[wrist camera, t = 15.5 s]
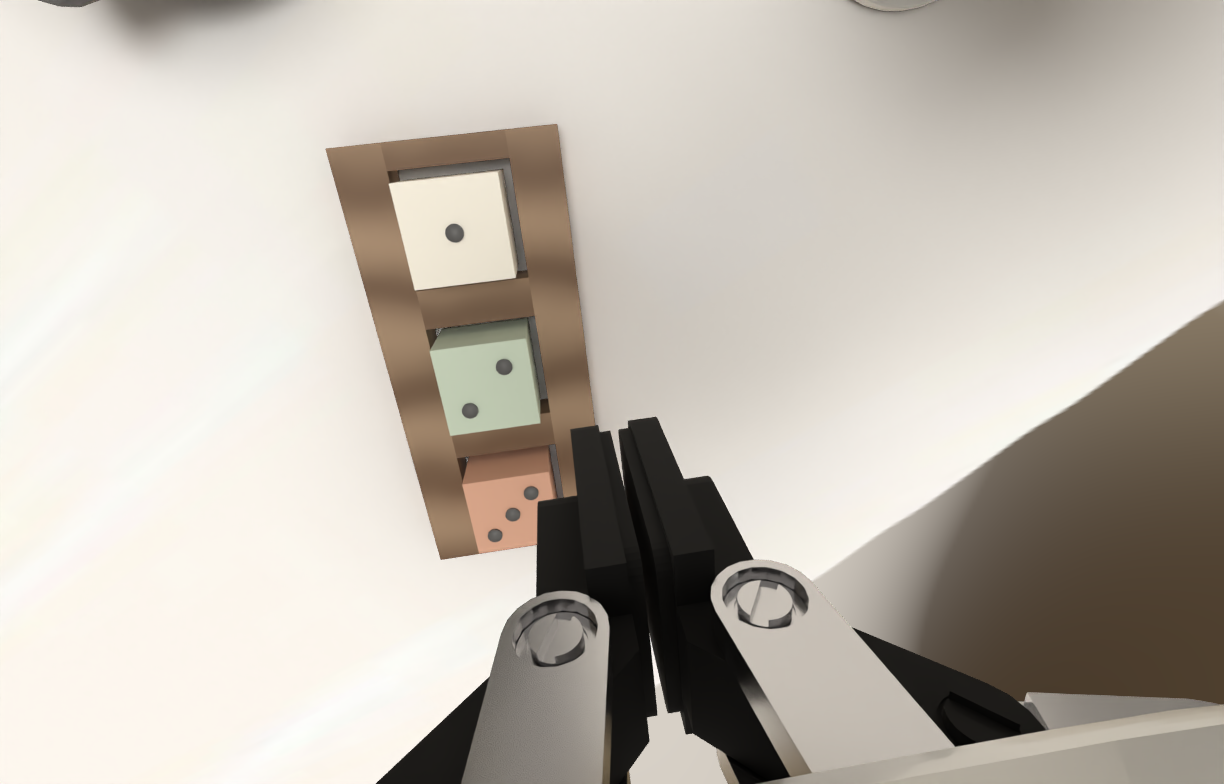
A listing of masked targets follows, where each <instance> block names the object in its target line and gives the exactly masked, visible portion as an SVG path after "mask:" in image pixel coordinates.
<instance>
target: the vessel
mask: <svg viewBox="0 0 1224 784" xmlns="http://www.w3.org/2000/svg"><path fill="white" fill-rule="evenodd" d="M39 1H42V2H46V3H50V4H53V5H57V6H63V7H82V6H85V5H88V4H91V3H93V2H96V1H99V0H39Z"/></svg>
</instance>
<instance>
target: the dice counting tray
mask: <svg viewBox="0 0 1224 784" xmlns="http://www.w3.org/2000/svg"><path fill="white" fill-rule="evenodd" d="M326 152H327V156H328V160H329V163H330V167H331V170H332V174H333V177H334V181H335V185H336V188H337V192H338V195H339V199H340V202H341V206H342V209H343V213H344V217H345V220H346V224H347V227H348V231H349V234H350V238H351V242H352V245H353V249H354V252H355V256H356V259H357V263H358V267H359V270H360V274H361V277H362V281H363V284H364V288H365V291H366V295H367V299H368V302H369V306H370V309H371V313H372V316H373V320H374V324H375V327H376V331H377V334H378V338H379V341H380V345H381V349H382V352H383V356H384V359H385V363H386V366H387V370H388V374H389V377H390V381H391V384H392V388H393V391H394V395H395V398H396V402H397V406H398V409H399V413H400V416H401V420H402V423H403V427H404V431H405V434H406V438H407V441H408V445H409V448H410V452H411V456H412V459H413V463H414V466H415V470H416V473H417V477H418V480H419V484H420V488H421V491H422V495H423V498H424V502H425V505H426V509H427V513H428V516H429V520H430V523H431V527H432V530H433V534H434V538H435V541H436V545H437V548H438V552H439V555H440V559H441V560H443V559H449V558H455V557H462V556H468V555H475V554H479V551H478V547H477V543H476V539H475V535H474V531H473V527H472V523H471V518H470V514H469V510H468V506H467V502H466V498H465V494H464V490H463V486H462V483H463V479H464V475H465V471H466V467H467V463H466V459H465V457H468V456H475V455H482V454H489V453H496V452H503V451H510V450H517V449H524V448H530V447H537V446H544V445H551V444H555V445H556V452H557V458H558V464H559V470H560V476H561V483H562V489H563V495H564V497H570V496H577V491H576V481H575V471H574V462H573V452H572V442H571V433H570V429H574V428H581V427H588V426H595V420H594V412H593V404H592V396H591V388H590V380H589V372H588V364H587V356H586V348H585V341H584V333H583V325H582V317H581V309H580V301H579V293H578V285H577V277H576V269H575V261H574V253H573V245H572V237H571V230H570V222H569V214H568V206H567V198H566V190H565V182H564V174H563V166H562V158H561V150H560V142H559V134H558V126H557V124H552V125H542V126H533V127H524V128H514V129H505V130H496V131H486V132H477V133H467V134H458V135H449V136H439V137H430V138H421V139H411V140H402V141H392V142H383V143H374V144H364V145H355V146H346V147H336V148H327V149H326ZM504 158H509V159H510V165H511V171H512V178H513V184H514V190H515V196H516V202H517V209H518V215H519V221H520V227H521V234H522V240H523V246H524V252H525V258H526V265H527V270H525V271H517V274H516V278H512V279H504V280H496V281H488V282H480V283H471V284H463V285H455V286H447V287H439V288H431V289H423V290H415V289H414V285H413V281H412V277H411V273H410V269H409V265H408V261H407V256H406V252H405V248H404V244H403V240H402V236H401V232H400V228H399V224H398V220H397V216H396V211H395V207H394V203H393V199H392V195H391V191H390V187H389V184H390V183H394V182H399V181H400V180H399V176H398V171H397V170H404V169H413V168H422V167H431V166H440V165H449V164H458V163H467V162H477V161H486V160H495V159H504ZM530 316H535V321H536V327H537V333H538V339H539V346H540V352H541V358H542V364H543V371H544V377H545V383H546V389H547V395H548V399H541V400H540V423H538V424H531V425H524V426H517V427H510V428H503V429H496V430H489V431H482V432H475V433H468V434H461V435H454V436H450V433H449V429H448V424H447V420H446V416H445V412H444V408H443V404H442V400H441V396H440V392H439V388H438V384H437V379H436V375H435V371H434V367H433V363H432V359H431V355H430V349H431V348H432V346H433V344H434V342H435V341H436V339H437V336H436V332H435V329H436V328H444V327H452V326H460V325H467V324H475V323H483V322H491V321H499V320H506V319H514V318H522V317H530ZM531 546H533V545H531ZM525 547H526V546H525ZM518 548H520V547H518ZM512 549H513V548H512ZM506 550H507V549H506ZM499 551H501V550H499ZM493 552H494V551H493ZM486 553H488V552H486ZM480 554H481V553H480Z"/></svg>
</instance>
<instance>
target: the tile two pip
mask: <svg viewBox="0 0 1224 784" xmlns="http://www.w3.org/2000/svg"><path fill="white" fill-rule="evenodd" d="M430 355H431V359H432V363H433V367H434V371H435V375H436V379H437V384H438V388H439V392H440V396H441V400H442V404H443V408H444V412H445V416H446V420H447V424H448V429H449V433H450V436H454V435H461V434H468V433H475V432H482V431H489V430H496V429H503V428H510V427H517V426H524V425H531V424H538V423H540V390H539V384H538V378H537V372H536V366H535V360H534V354H533V347H532V341H531V335H530V329H529V323H528V318H524V319H516V320H508V321H501V322H493V323H485V324H477V325H470V326H462V327H454V328H446V329H442V330H441V332H440V333H439V335H438V337H437V339H436V341H435V342H434V344H433V346H432V348H431V349H430Z"/></svg>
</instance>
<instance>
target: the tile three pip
mask: <svg viewBox="0 0 1224 784" xmlns="http://www.w3.org/2000/svg"><path fill="white" fill-rule="evenodd" d="M462 486H463V490H464V494H465V498H466V502H467V506H468V510H469V514H470V518H471V523H472V527H473V531H474V535H475V539H476V543H477V547H478V551H479V554H480V553H486V552H493V551H499V550H506V549H512V548H518V547H525V546H531V545H537V506H538V501H543V500H550V499H557V492H556V486H555V480H554V474H553V468H552V462H551V456H550V450H549V445H544V446H537V447H530V448H524V449H517V450H510V451H503V452H496V453H489V454H482V455H475V456H469V458H468V462H467V467H466V471H465V475H464V479H463V483H462Z"/></svg>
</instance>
